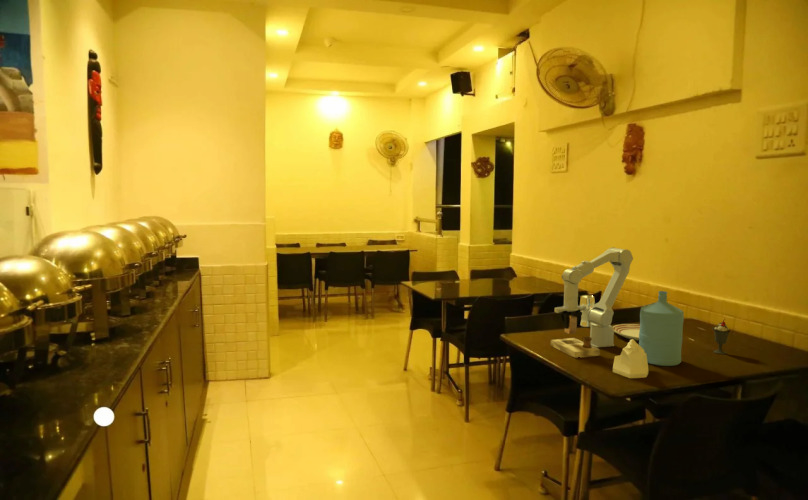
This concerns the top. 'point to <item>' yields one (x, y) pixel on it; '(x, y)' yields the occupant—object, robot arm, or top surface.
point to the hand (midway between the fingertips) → (569, 327)
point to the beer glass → (589, 303)
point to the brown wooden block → (572, 325)
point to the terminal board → (576, 347)
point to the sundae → (721, 336)
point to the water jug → (661, 332)
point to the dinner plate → (628, 331)
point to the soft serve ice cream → (631, 361)
